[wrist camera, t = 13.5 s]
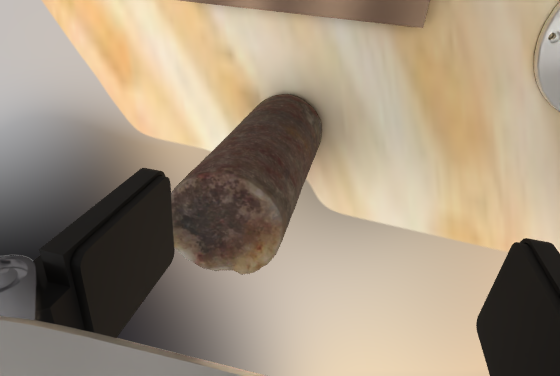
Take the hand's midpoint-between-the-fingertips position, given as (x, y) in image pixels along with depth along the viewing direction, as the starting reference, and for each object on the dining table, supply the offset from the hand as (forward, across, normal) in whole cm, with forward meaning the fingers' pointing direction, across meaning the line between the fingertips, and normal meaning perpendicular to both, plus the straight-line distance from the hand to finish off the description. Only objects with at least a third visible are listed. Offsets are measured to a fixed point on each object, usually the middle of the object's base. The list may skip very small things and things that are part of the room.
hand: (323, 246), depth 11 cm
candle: (+28, +6, +7) cm, 30 cm away
